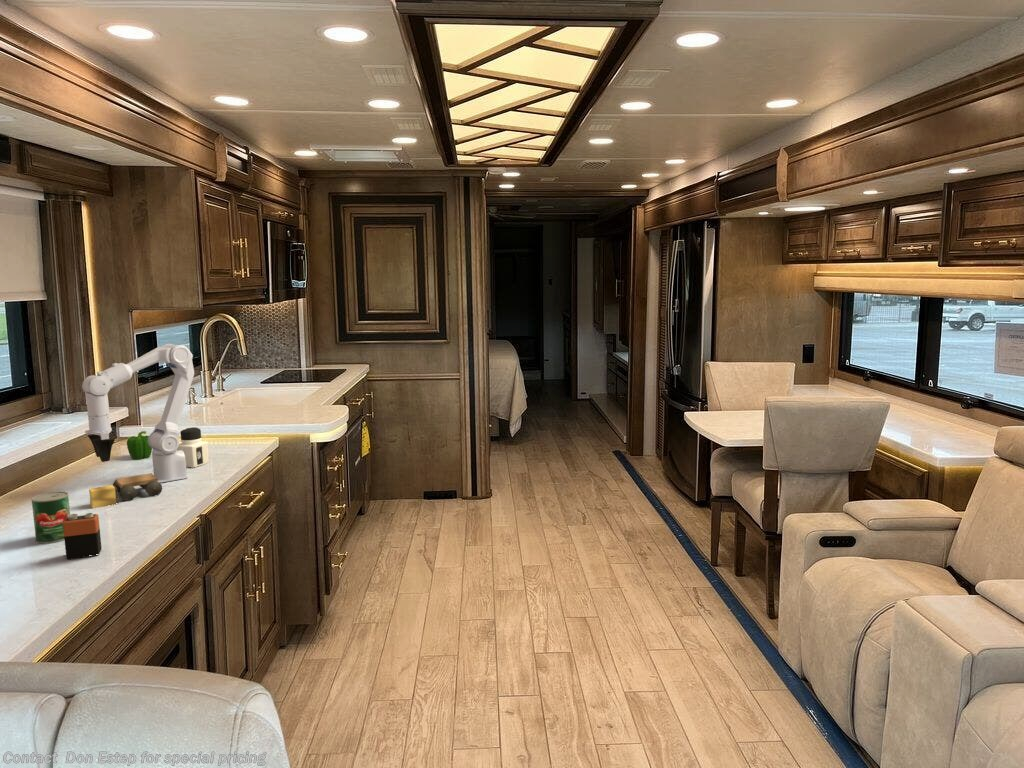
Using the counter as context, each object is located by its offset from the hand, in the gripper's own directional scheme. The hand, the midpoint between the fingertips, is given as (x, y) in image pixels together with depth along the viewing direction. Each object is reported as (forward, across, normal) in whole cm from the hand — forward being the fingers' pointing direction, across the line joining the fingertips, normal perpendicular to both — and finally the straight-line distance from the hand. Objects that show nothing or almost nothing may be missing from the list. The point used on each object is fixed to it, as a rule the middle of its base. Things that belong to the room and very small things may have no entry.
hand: (103, 458), depth 223 cm
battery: (+11, +55, -14) cm, 58 cm away
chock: (+10, +14, -3) cm, 18 cm away
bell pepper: (+11, -40, +18) cm, 45 cm away
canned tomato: (+11, +37, -18) cm, 42 cm away
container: (+11, -17, +30) cm, 36 cm away
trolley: (+10, +9, +7) cm, 15 cm away
